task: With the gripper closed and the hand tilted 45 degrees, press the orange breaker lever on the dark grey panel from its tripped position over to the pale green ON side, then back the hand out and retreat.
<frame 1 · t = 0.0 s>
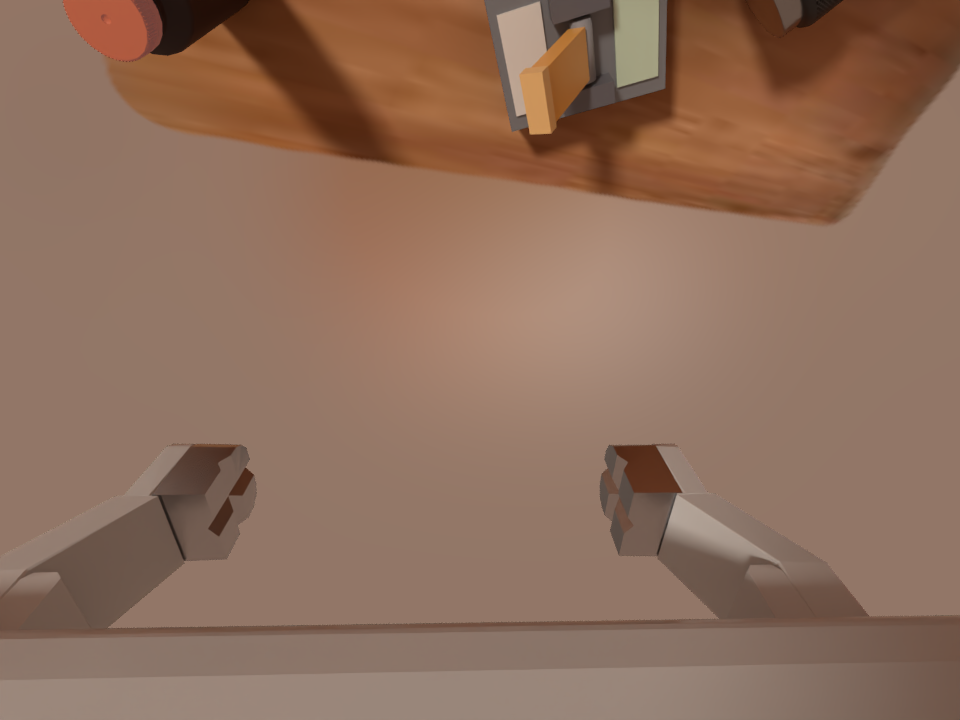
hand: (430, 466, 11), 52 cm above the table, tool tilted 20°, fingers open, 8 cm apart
lever: (563, 73, 42), point 11 cm above the table, hinge at -30.0°
panel: (572, 32, 49), on the table
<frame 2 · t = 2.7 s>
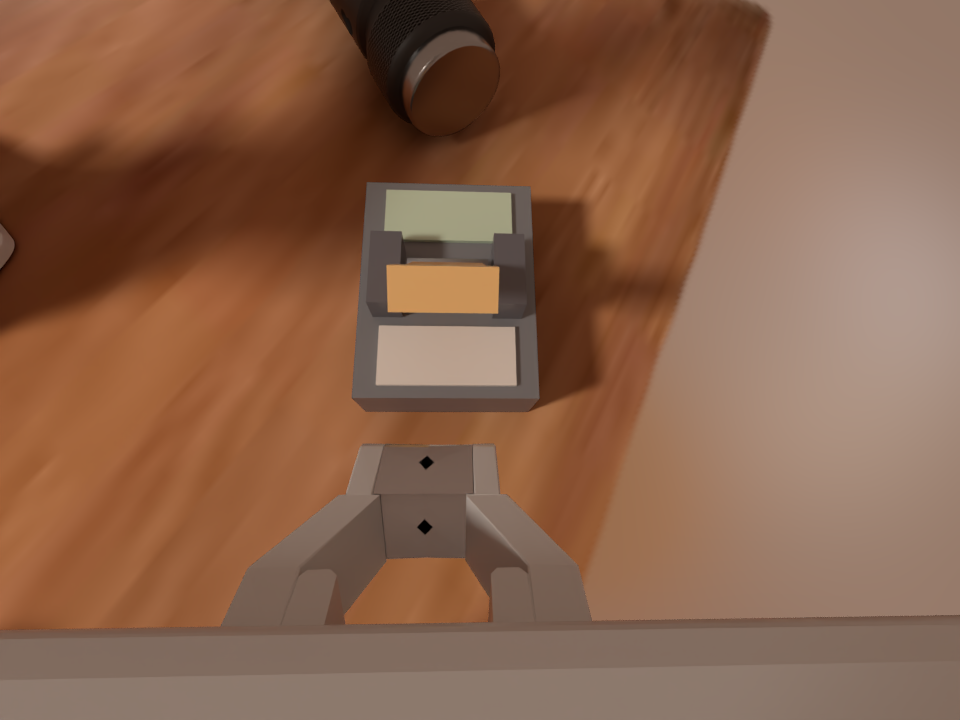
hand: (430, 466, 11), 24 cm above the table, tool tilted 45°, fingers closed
muzzle brake: (386, 38, 45), on the table
lever: (446, 279, 26), point 11 cm above the table, hinge at -30.0°
panel: (448, 311, 37), on the table
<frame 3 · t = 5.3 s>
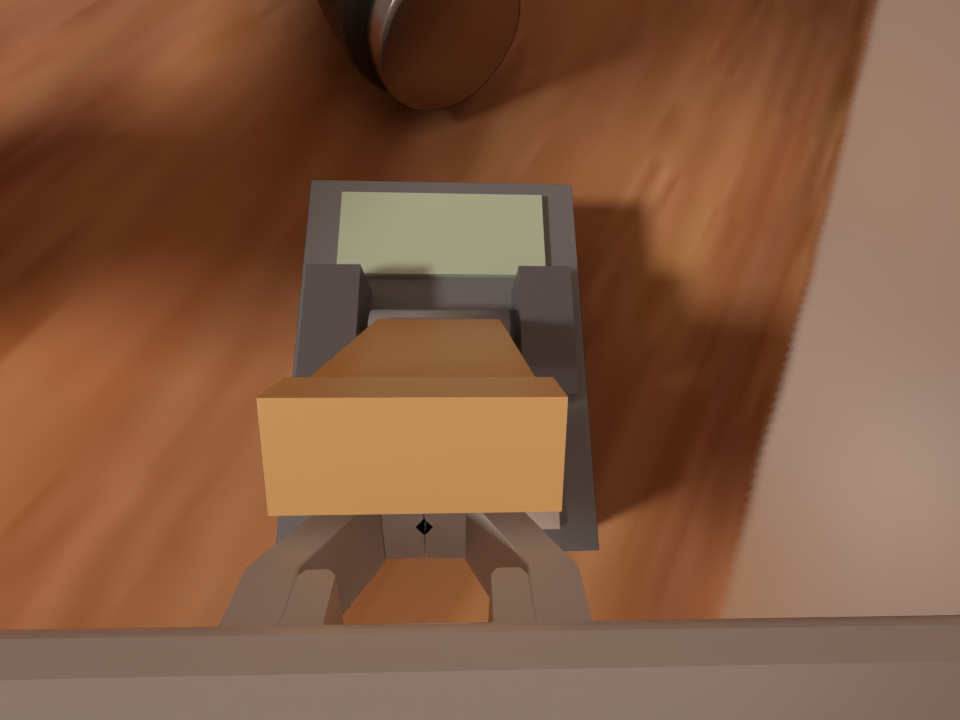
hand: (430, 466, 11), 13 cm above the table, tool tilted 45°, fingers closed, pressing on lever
lever: (434, 366, 13), point 11 cm above the table, hinge at -28.8°, touching gripper
panel: (444, 376, 24), on the table
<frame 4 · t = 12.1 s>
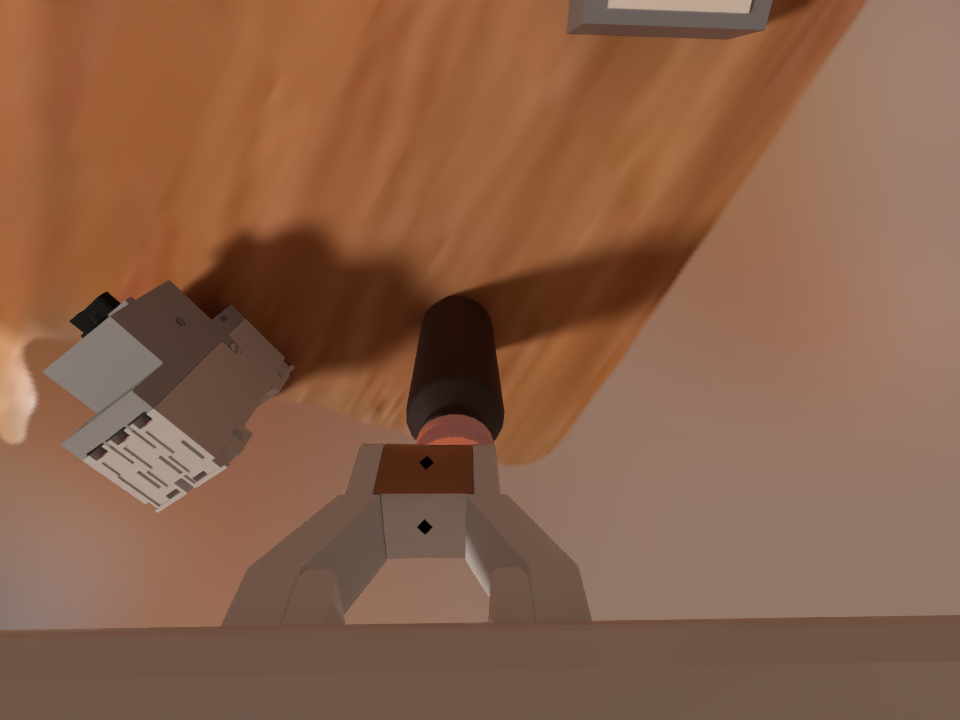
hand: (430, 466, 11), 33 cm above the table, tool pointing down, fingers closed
bottle: (457, 327, 46), on the table
circuit breaker: (212, 333, 45), on the table
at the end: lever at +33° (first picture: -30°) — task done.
